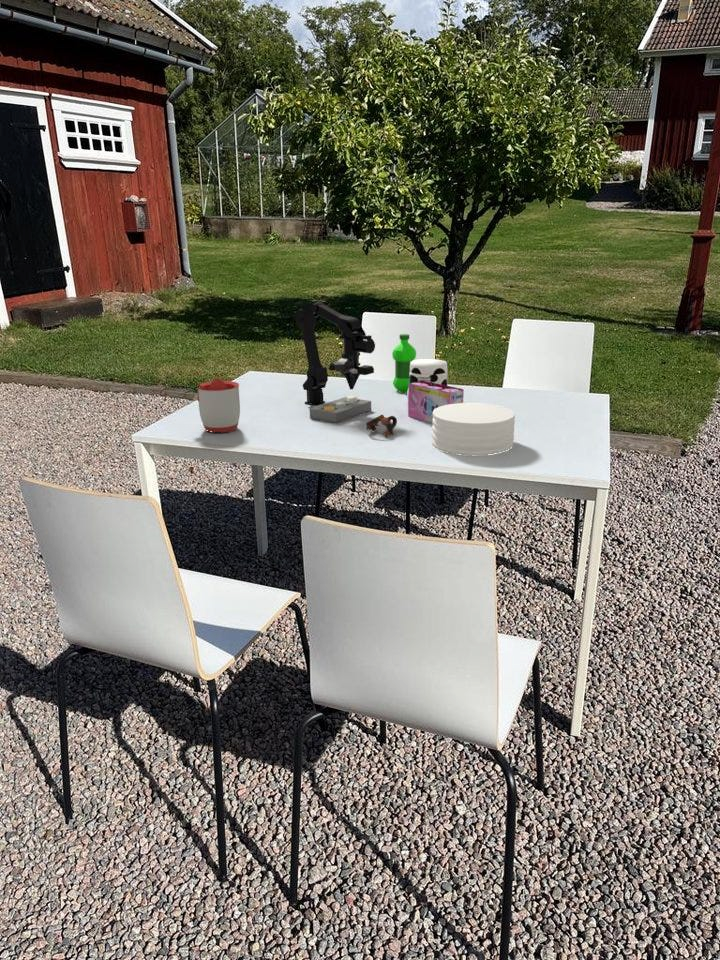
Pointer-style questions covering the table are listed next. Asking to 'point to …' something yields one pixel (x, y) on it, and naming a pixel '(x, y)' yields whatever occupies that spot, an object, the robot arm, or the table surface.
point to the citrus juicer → (219, 405)
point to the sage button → (341, 404)
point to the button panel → (340, 410)
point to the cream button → (352, 399)
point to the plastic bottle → (403, 363)
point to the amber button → (329, 408)
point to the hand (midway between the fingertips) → (351, 389)
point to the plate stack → (473, 428)
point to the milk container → (428, 371)
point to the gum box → (430, 398)
